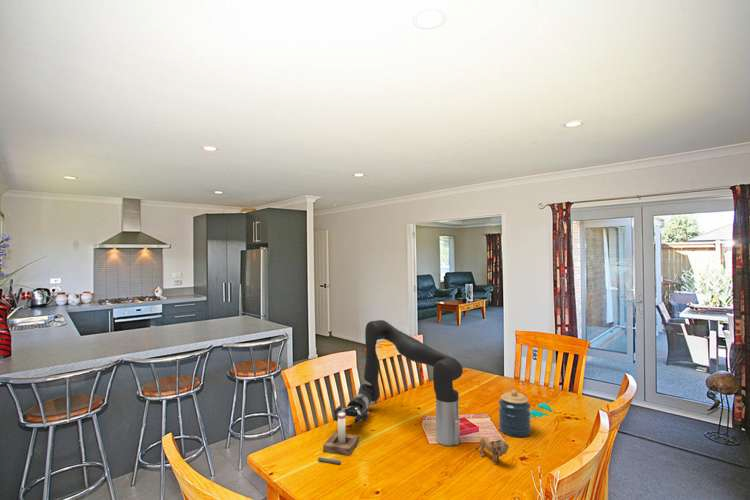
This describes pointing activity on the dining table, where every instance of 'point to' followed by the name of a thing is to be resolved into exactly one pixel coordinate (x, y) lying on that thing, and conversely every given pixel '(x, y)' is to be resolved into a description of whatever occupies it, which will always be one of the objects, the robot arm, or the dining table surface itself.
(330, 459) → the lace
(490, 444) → the lion figurine
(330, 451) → the brown square frame
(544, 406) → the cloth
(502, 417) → the canister
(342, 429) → the slim white bottle
